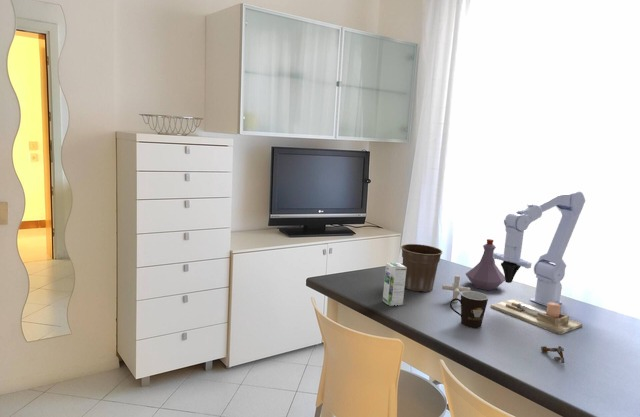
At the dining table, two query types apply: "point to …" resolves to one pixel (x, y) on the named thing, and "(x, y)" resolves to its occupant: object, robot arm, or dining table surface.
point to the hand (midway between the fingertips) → (508, 282)
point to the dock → (538, 317)
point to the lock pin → (529, 309)
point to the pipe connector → (455, 288)
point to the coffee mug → (471, 308)
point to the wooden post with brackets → (559, 350)
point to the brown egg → (553, 310)
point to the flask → (486, 270)
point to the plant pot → (420, 266)
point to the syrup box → (394, 284)
